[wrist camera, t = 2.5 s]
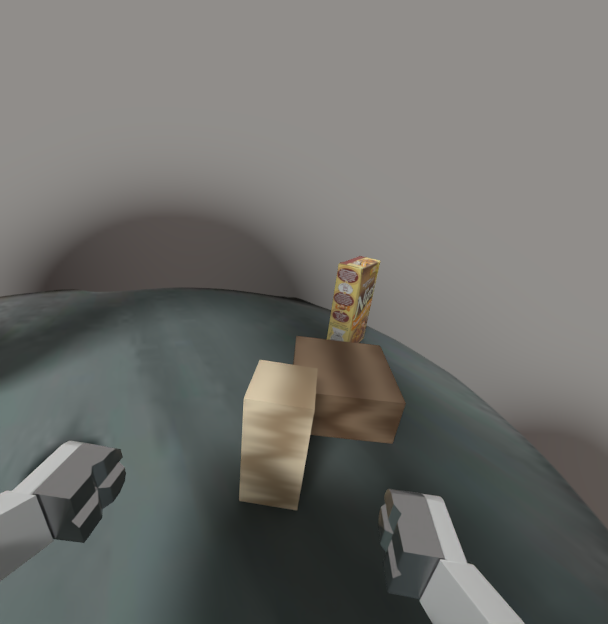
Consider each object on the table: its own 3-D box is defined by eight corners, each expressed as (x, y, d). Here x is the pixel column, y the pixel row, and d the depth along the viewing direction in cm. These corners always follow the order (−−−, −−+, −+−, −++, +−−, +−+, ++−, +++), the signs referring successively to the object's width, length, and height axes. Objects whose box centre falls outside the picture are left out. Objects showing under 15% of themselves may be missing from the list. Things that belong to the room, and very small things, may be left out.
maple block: (239, 500, 24) (243, 398, 20) (253, 451, 29) (259, 359, 25) (297, 510, 24) (314, 409, 20) (302, 459, 29) (317, 368, 24)
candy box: (345, 358, 47) (364, 268, 41) (323, 348, 49) (338, 262, 43) (364, 339, 55) (382, 260, 49) (343, 331, 56) (359, 255, 50)
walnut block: (285, 434, 32) (291, 390, 29) (292, 371, 43) (296, 335, 40) (391, 445, 32) (405, 403, 30) (371, 380, 43) (380, 345, 41)
